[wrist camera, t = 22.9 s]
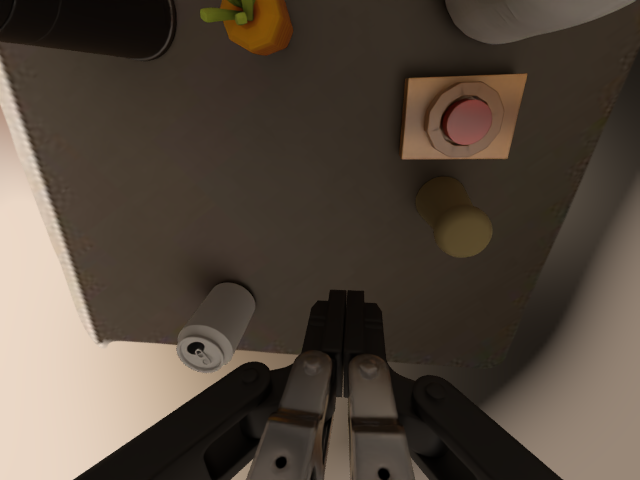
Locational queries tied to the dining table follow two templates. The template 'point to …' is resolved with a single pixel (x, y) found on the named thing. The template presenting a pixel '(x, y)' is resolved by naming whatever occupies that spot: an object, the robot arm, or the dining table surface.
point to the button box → (439, 95)
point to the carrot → (254, 23)
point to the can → (216, 328)
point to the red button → (467, 121)
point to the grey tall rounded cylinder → (524, 16)
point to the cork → (453, 217)
